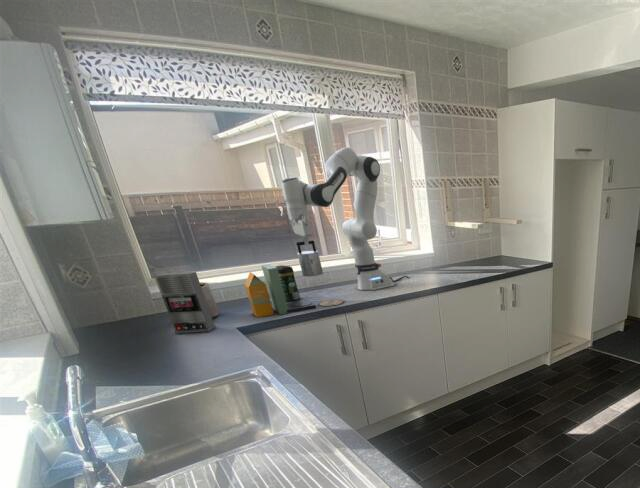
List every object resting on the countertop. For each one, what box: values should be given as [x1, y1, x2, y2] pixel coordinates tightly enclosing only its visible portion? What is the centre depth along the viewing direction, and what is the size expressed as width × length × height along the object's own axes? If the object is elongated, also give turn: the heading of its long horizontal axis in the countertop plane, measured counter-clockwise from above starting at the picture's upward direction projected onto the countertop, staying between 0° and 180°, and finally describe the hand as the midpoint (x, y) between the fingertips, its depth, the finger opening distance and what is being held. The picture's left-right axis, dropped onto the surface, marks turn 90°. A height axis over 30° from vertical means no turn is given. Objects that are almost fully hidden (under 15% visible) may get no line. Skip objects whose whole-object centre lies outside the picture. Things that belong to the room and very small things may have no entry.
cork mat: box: [319, 299, 344, 307], centre depth 224 cm, size 12×12×1 cm
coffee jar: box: [275, 264, 301, 302], centre depth 230 cm, size 10×8×19 cm
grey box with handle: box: [295, 239, 324, 277], centre depth 211 cm, size 10×12×16 cm
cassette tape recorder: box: [153, 271, 216, 335], centre depth 181 cm, size 14×6×25 cm, turn 99°
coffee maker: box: [261, 263, 317, 315], centre depth 213 cm, size 18×15×22 cm
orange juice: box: [244, 272, 275, 318], centre depth 205 cm, size 8×9×20 cm
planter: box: [200, 282, 220, 320], centre depth 201 cm, size 18×18×16 cm
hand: (306, 244), depth 209 cm, fingers closed on grey box with handle
